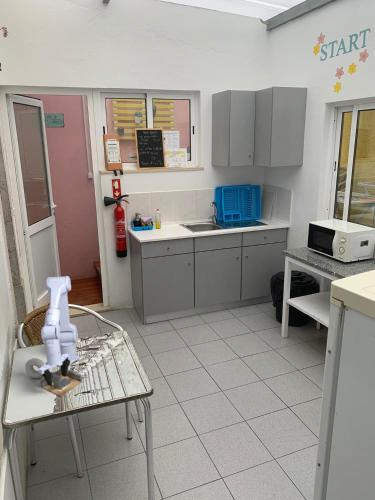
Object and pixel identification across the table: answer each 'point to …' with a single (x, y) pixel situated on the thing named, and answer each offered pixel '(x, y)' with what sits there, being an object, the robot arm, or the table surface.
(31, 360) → the donut
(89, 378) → the table surface
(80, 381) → the tray
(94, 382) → the table surface
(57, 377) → the bracket
